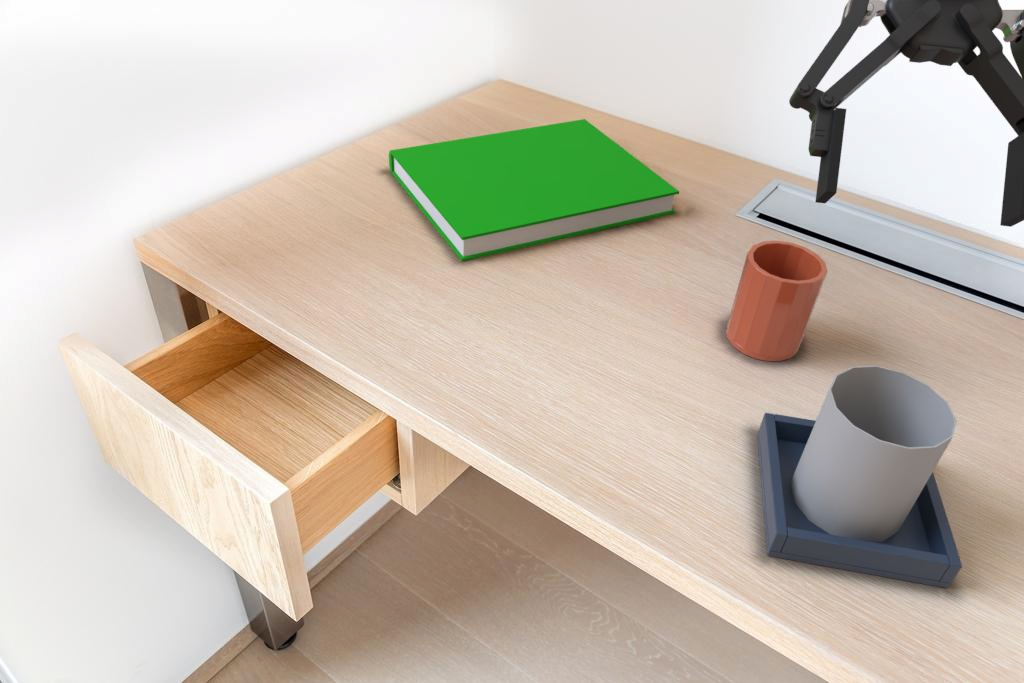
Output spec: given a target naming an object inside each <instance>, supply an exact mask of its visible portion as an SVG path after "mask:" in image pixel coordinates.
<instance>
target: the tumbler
mask: <svg viewBox="0 0 1024 683" xmlns="http://www.w3.org/2000/svg"><path fill="white" fill-rule="evenodd" d="M827 274H828V268H827V263H826V261H824V259H823V258H822V257H821V255H819V254H818V253H816V252H814V251H813V250H812V249H809V248H807V247H805V246H802V245H800V244H798V243H795V242H794V243H793V242H791V241H783V240H767V241H765V240H764V241H761V242H758V243H756V244H753V245H752V246H751V247H750V249H749V250H748V251H747V253H746V257H745V260H744V264H743V267H742V270H741V275H740V278H739V281H738V284H737V289H736V292H735V295H734V296H735V297H734V299H733V303H732V306H731V309H730V313H729V317H728V320H727V324H726V325H727V326H726V330H725V333H726V337H727V340H728V341H729V343H730V344H731V345H732V347H734V348H735V349H736V350H737V351H739V352H741V353H742V354H744V355H746V356H748V357H750V358H753V359H757V360H760V361H765V362H781V361H786V360H788V359H791V358H793V357H795V355H796V354H797V353H798V351H799V349H800V346H801V344H802V342H803V340H804V336H805V334H806V331H807V328H808V325H809V323H810V320H811V318H812V315H813V312H814V310H815V307H816V304H817V301H818V299H819V296H820V293H821V291H822V288H823V285H824V282H825V279H826V277H827Z"/></svg>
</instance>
